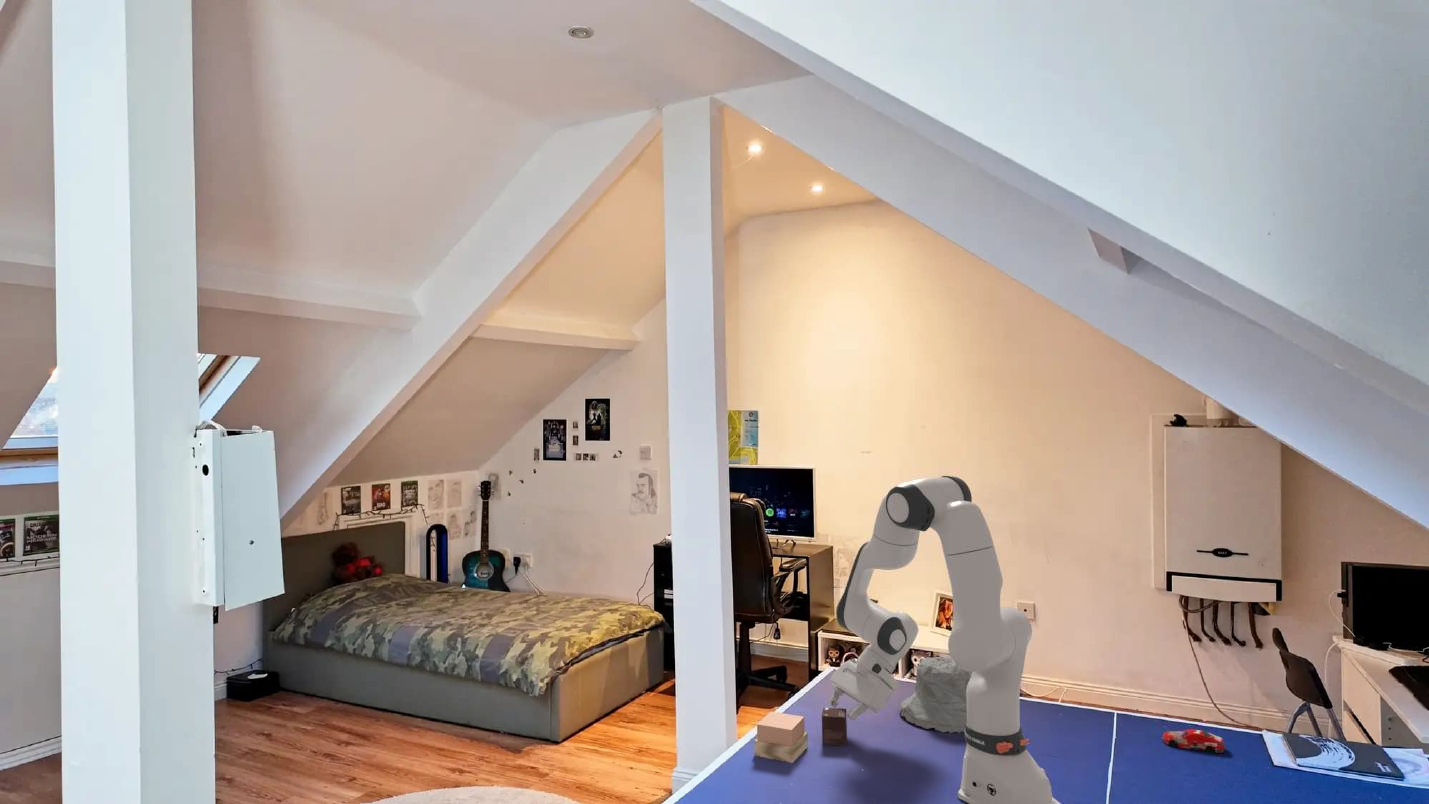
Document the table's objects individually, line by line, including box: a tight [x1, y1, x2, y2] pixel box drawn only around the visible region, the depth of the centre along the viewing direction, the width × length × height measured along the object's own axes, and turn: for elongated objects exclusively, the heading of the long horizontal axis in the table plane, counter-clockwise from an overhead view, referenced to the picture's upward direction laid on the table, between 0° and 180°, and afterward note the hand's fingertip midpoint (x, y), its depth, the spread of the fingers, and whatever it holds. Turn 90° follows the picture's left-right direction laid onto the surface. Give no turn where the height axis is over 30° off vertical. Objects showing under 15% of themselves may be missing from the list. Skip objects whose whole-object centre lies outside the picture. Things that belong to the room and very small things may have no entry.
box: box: [821, 707, 848, 747], centre depth 212 cm, size 6×6×7 cm
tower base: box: [753, 731, 809, 764], centre depth 206 cm, size 10×10×4 cm
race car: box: [1161, 728, 1226, 754], centre depth 204 cm, size 13×5×4 cm, turn 59°
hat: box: [898, 656, 972, 734], centre depth 226 cm, size 26×23×15 cm
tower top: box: [756, 711, 805, 747], centre depth 206 cm, size 9×9×4 cm
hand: (840, 711), depth 213 cm, fingers open, 8 cm apart
